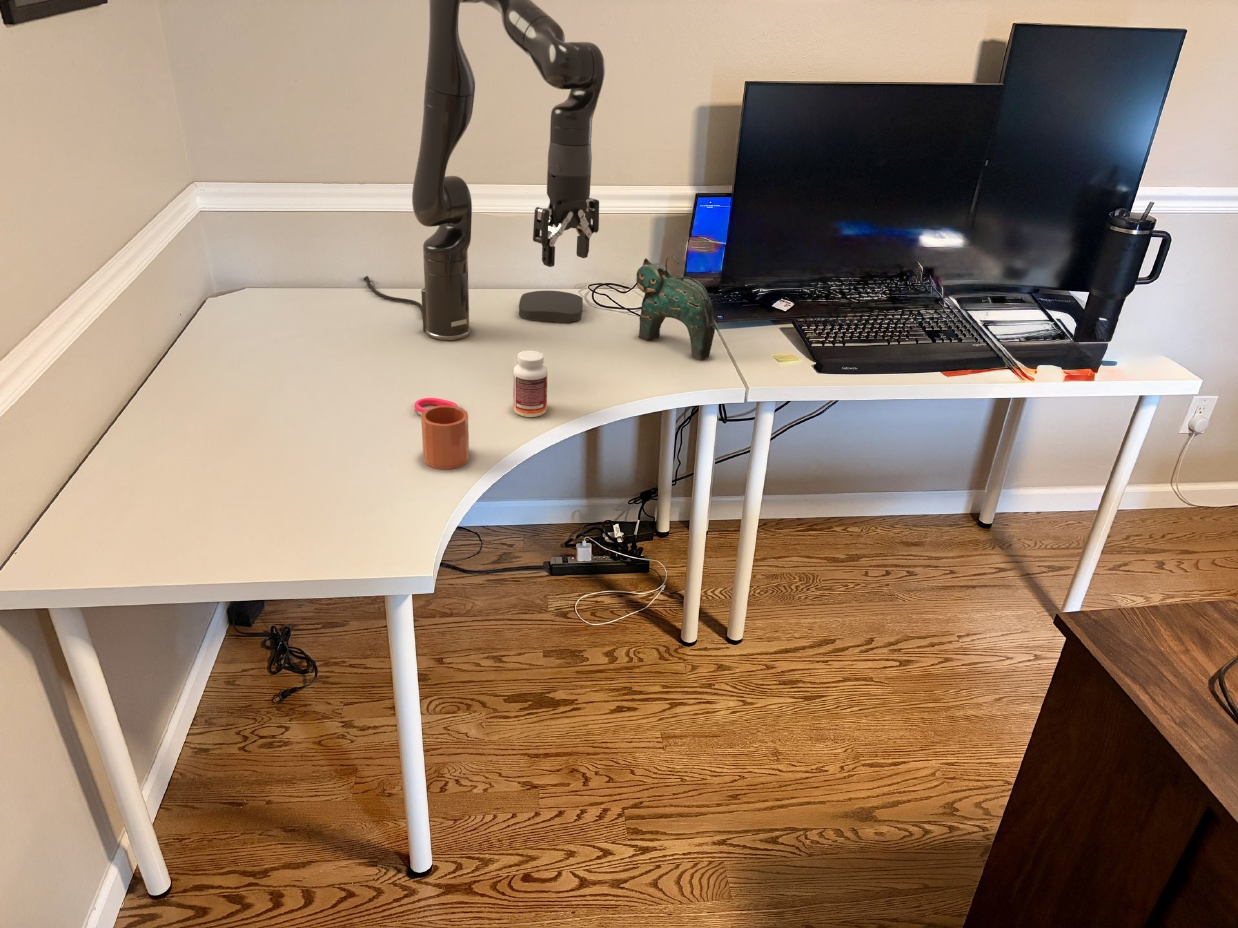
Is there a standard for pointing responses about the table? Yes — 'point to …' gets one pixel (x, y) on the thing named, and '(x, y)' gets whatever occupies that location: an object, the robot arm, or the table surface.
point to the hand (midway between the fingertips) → (565, 261)
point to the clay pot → (445, 437)
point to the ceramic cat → (675, 306)
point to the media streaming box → (551, 306)
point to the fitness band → (431, 401)
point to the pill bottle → (530, 384)
